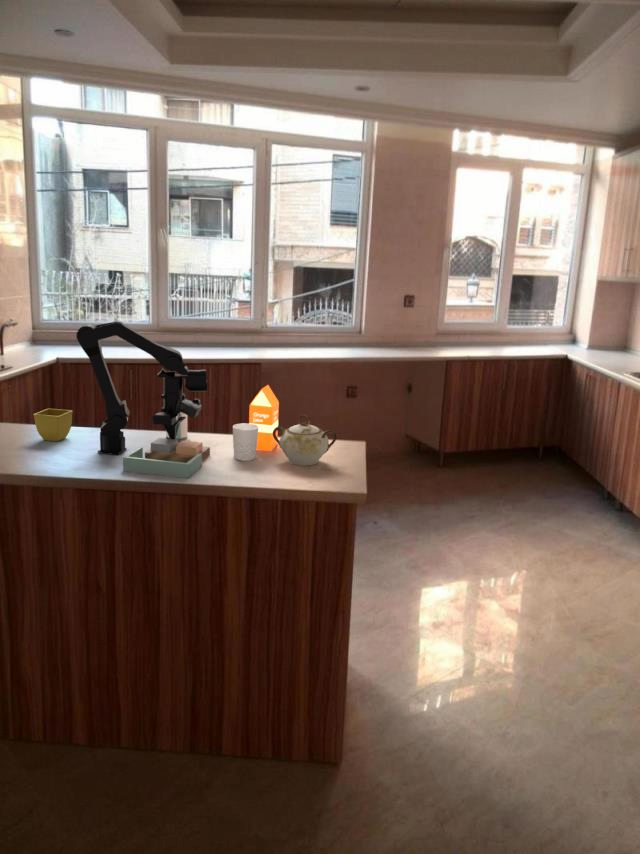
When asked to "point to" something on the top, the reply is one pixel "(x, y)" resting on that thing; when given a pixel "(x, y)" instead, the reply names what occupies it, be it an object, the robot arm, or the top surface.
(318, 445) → the sugar bowl
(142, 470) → the box
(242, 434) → the white cup
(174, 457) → the walnut board
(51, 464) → the top surface
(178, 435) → the can
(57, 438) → the flower pot
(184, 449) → the terracotta tile
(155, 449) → the slate tile
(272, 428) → the orange juice
